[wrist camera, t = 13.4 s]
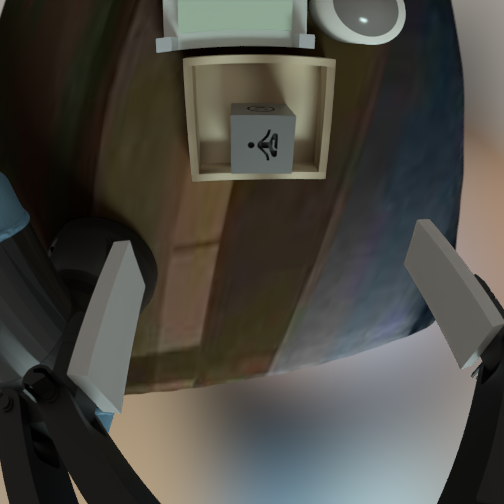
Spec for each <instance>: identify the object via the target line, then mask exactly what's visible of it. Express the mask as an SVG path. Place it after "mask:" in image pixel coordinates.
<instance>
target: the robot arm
mask: <svg viewBox="0 0 504 504" xmlns="http://www.w3.org/2000/svg"><path fill="white" fill-rule="evenodd" d="M29 220H30V216H29V214H28V212H27V211H26V210H25V209H24V208H23V207H22V205H21V204H20V202H19V200H18V198H17V196H16V194H15V192H14V190H13V188H12V186H11V184H10V182H9V180H8V179H7V177H6V176H5V175H4V174H3V173H1V172H0V462H1V467H2V472H3V478H4V482H5V487H6V492H7V496H8V499H9V504H79V503H78V500H77V497H76V494H75V492H74V489H73V486H72V483H71V480H70V477H69V474H70V475H71V477H72V479H73V481H74V482H75V484H76V485H77V487H78V489H79V491H80V492H81V494H82V496H83V497H84V499H85V500H86V502H87V503H88V504H161V503H160V502H159V501H158V500H157V499H156V497H155V496H154V495H153V494H152V493H151V491H150V490H149V489H148V488H147V487H146V485H145V484H144V483H143V482H142V480H141V479H140V478H139V476H138V475H137V474H136V473H135V471H134V470H133V469H132V467H131V466H130V464H129V463H128V462H127V460H126V459H125V458H124V456H123V455H122V453H121V452H120V450H119V449H118V448H117V446H116V445H115V443H114V442H113V440H112V439H111V437H110V436H109V434H108V433H109V429H110V426H111V422H112V419H113V415H114V413H121V411H122V404H123V397H124V391H125V385H126V378H127V373H128V367H129V361H130V356H131V350H132V345H133V340H134V335H135V330H136V325H137V321H138V317H139V315H140V314H141V312H142V311H143V310H144V308H145V307H146V306H147V304H148V303H149V302H150V300H151V298H152V296H153V294H154V290H155V286H156V282H157V275H158V274H157V265H156V262H155V259H154V257H153V255H152V253H151V251H150V250H149V248H148V247H147V245H146V244H145V243H144V242H143V241H142V240H141V239H140V238H139V237H138V236H137V235H136V234H135V233H133V232H132V231H131V230H129V229H128V228H126V227H124V226H122V225H121V224H118V223H116V222H114V221H111V220H108V219H104V218H98V217H83V218H78V219H75V220H72V221H70V222H69V223H67V224H66V225H64V226H63V227H62V228H61V229H60V231H59V232H58V233H57V235H56V236H55V238H54V239H53V241H52V243H51V245H50V247H49V251H48V255H47V253H46V251H45V250H44V248H43V246H42V244H41V242H40V240H39V239H38V237H37V235H36V233H35V231H34V229H33V227H32V225H31V223H30V221H29ZM404 266H405V267H406V269H407V270H408V272H409V274H410V275H411V277H412V279H413V280H414V282H415V284H416V285H417V287H418V289H419V291H420V292H421V294H422V296H423V298H424V299H425V301H426V303H427V305H428V306H429V308H430V310H431V312H432V314H433V316H434V317H435V319H436V321H437V323H438V325H439V327H440V328H441V331H442V332H443V334H444V336H445V338H446V340H447V342H448V344H449V346H450V348H451V350H452V352H453V354H454V357H455V359H456V361H457V363H458V365H459V367H460V369H463V368H466V367H469V366H471V365H473V364H474V363H475V362H476V361H477V360H478V358H479V357H481V359H482V361H483V362H482V363H481V364H480V365H479V366H478V367H477V369H476V370H475V371H474V372H473V373H472V375H471V377H472V378H473V377H474V376H475V375H476V374H477V373H478V376H477V378H476V379H477V382H476V387H475V391H474V396H473V400H472V405H471V408H470V412H469V416H468V420H467V424H466V427H465V430H464V434H463V437H462V440H461V443H460V446H459V450H458V452H457V455H456V458H455V461H454V464H453V467H452V469H451V472H450V474H449V477H448V479H447V482H446V484H445V487H444V489H443V491H442V494H441V496H440V498H439V501H438V503H437V504H504V309H503V308H502V306H501V305H500V303H499V302H498V300H497V299H495V296H494V294H493V293H492V292H491V291H490V288H489V287H488V286H487V284H486V283H485V281H483V280H482V279H481V278H480V277H479V276H478V275H476V274H475V275H473V273H472V272H471V271H470V269H469V268H468V267H467V265H466V264H465V263H464V261H463V260H462V259H461V257H460V256H459V255H458V253H457V252H456V251H455V250H454V248H453V247H452V246H451V245H450V243H449V242H448V241H447V240H446V238H445V237H444V236H443V235H442V234H441V232H440V231H439V230H438V229H437V228H436V226H435V225H434V224H433V223H432V222H431V221H430V219H423V220H417V222H416V226H415V229H414V232H413V236H412V239H411V243H410V246H409V249H408V252H407V255H406V258H405V261H404ZM68 472H69V473H68Z"/></svg>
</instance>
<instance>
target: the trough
mask: <svg viewBox="0 0 504 504" xmlns="http://www.w3.org/2000/svg"><path fill="white" fill-rule="evenodd" d="M335 63H336V60H334V59H329V58H323V57H312V56H298V55H278V54H229V55H209V56H195V57H187V58H183V70H184V88H185V103H186V117H187V130H188V142H189V153H190V164H191V174H192V182H194V181H214V180H242V179H325V176H326V167H327V158H328V149H329V139H330V129H331V118H332V106H333V94H334V80H335ZM231 103H272V104H287V106H288V107H289V108H290V109H291V110H292V112H293V113H294V114H295V115H296V126H295V140H294V153H293V165H292V174H231Z"/></svg>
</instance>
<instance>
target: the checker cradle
mask: <svg viewBox="0 0 504 504" xmlns="http://www.w3.org/2000/svg"><path fill="white" fill-rule="evenodd" d="M163 23H164V38H158V39H156V50H157V53H159V52H167V51H175V50H183V49H194V48H207V47H226V46H279V47H298V48H311V49H314V48H315V35H311V34H306V33H307V0H292V31H281V30H221V31H204V32H192V33H182V34H179V33H178V0H163Z"/></svg>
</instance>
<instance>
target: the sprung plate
mask: <svg viewBox="0 0 504 504" xmlns="http://www.w3.org/2000/svg"><path fill="white" fill-rule="evenodd" d="M221 30H281V31H292V0H178V33H179V34H182V33H192V32H204V31H221Z"/></svg>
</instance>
